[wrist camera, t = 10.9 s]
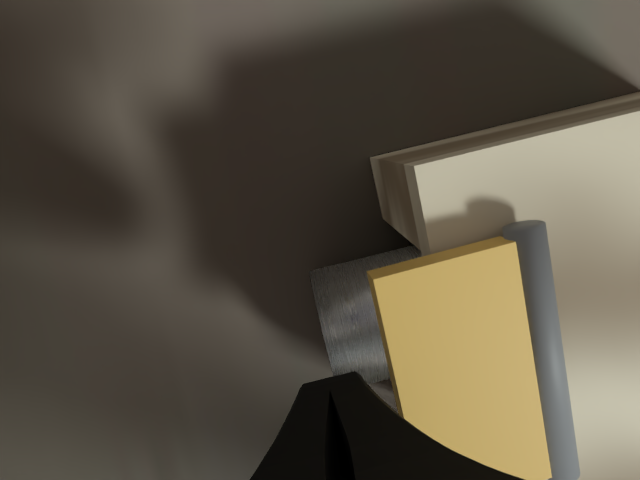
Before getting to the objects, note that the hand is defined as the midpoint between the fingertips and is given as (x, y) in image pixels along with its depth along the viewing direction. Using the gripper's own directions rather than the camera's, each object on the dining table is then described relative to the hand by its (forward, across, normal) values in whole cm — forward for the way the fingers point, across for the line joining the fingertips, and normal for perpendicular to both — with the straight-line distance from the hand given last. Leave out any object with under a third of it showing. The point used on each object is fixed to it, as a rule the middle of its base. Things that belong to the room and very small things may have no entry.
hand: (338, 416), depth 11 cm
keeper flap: (0, -5, 0) cm, 5 cm away
